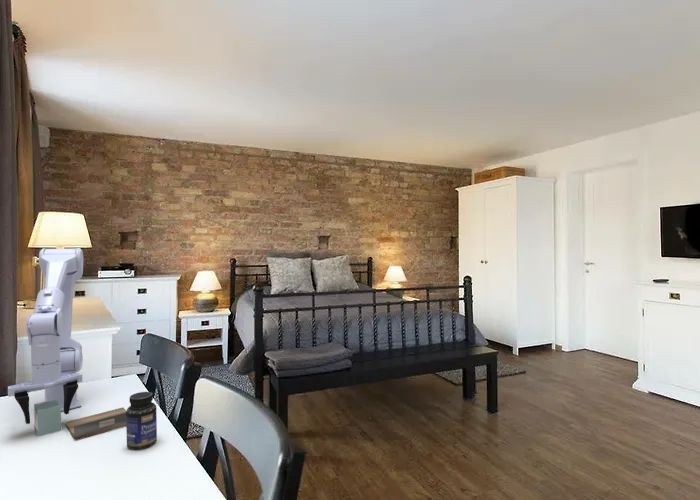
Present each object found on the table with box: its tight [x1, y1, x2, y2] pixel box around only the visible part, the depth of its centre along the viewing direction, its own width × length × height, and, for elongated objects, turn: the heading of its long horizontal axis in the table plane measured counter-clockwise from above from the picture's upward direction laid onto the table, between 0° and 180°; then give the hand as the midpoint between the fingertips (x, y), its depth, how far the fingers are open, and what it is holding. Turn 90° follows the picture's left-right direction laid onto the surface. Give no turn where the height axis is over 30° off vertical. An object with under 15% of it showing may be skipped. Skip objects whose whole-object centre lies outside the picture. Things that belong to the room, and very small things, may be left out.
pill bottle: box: [125, 391, 158, 451], centre depth 95 cm, size 6×6×11 cm
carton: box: [33, 399, 62, 437], centre depth 102 cm, size 5×6×6 cm
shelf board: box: [65, 407, 127, 441], centre depth 105 cm, size 11×13×3 cm
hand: (47, 417), depth 102 cm, fingers open, 7 cm apart
